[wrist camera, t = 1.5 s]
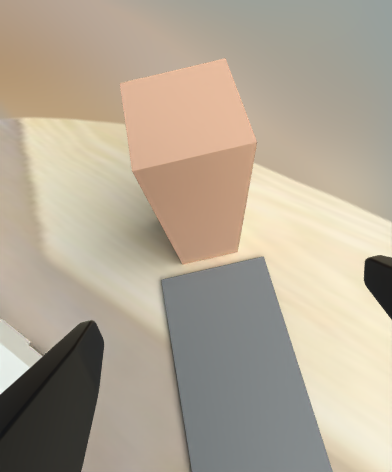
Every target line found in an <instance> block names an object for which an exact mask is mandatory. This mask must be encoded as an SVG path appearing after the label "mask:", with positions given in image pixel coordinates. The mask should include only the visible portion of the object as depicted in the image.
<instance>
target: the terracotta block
mask: <svg viewBox="0 0 392 472" xmlns="http://www.w3.org/2000/svg"><path fill="white" fill-rule="evenodd" d="M120 87H121V95H122V101H123V109H124V116H125V123H126V130H127V137H128V145H129V152H130V159H131V166H132V172H133V174H134V175H135V177H136V179H137V181H138V183H139V185H140V187H141V188H142V190H143V192H144V194H145V196H146V198H147V200H148V201H149V203H150V205H151V207H152V209H153V211H154V213H155V214H156V216H157V218H158V220H159V222H160V224H161V226H162V227H163V229H164V231H165V233H166V235H167V237H168V238H169V240H170V242H171V244H172V246H173V248H174V250H175V251H176V253H177V255H178V257H179V259H180V261H181V263H182V264H187V263H191V262H195V261H200V260H204V259H209V258H213V257H217V256H222V255H226V254H230V253H235V252H238V247H239V241H240V236H241V230H242V224H243V219H244V213H245V207H246V202H247V196H248V191H249V185H250V179H251V174H252V168H253V162H254V157H255V151H256V145H257V141H256V138H255V135H254V133H253V130H252V128H251V125H250V122H249V119H248V117H247V114H246V112H245V109H244V106H243V103H242V101H241V98H240V95H239V93H238V90H237V88H236V85H235V82H234V80H233V77H232V74H231V72H230V69H229V67H228V64H227V61H226V58H224V59H220V60H217V61H212V62H208V63H203V64H199V65H195V66H191V67H187V68H182V69H178V70H174V71H170V72H166V73H161V74H157V75H153V76H148V77H144V78H140V79H136V80H132V81H127V82H123V83H120Z"/></svg>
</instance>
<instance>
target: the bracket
mask: <svg viewBox="0 0 392 472" xmlns="http://www.w3.org/2000/svg"><path fill="white" fill-rule="evenodd" d="M29 344H30V341H29V340H28V339H26V338H25V337H24V336H23V335H22V334H20V333H19V332H18V331H17V330H15V329H14V328H13V327H12V326H10V325H9V324H8V323H7V322H5V321H4V320H3V319H0V394H1V393H2V392H3V391H5V390H6V389H7V388H8V387H9V386H10V385H11V384H12V383H14V382H15V381H16V380H17V379H18V378H19V377H20V376H21V375H23V374H24V373H25V372H26V371H27V370H28V369H29V368H30V367H31V366H33V365H34V364H35V363H36V362H37V361H38V360H39V359H40V358H42V357H43V356H42V355H40V354H39V353H38V352H37V351H36V350H34V349H33V348H32V347H31V346H29Z"/></svg>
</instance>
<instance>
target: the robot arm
mask: <svg viewBox="0 0 392 472" xmlns="http://www.w3.org/2000/svg"><path fill="white" fill-rule="evenodd" d="M364 282H365V285H366V287H367V288H368V289H369V291H370V292H371V293H372V295H373V296H374V297H375V299H376V300H377V301H378V302H379V304H380V305H381V306H382V308H383V309H384V310H385V312H386V313H387V314H388V316H389V317H390V318H391V319H392V258H391V257H387V256H382V255H377V256H373V257H369V258H367V259H366V260H365V267H364ZM103 351H104V340H103V337H102V335H101V333H100V331H99V329H98V326H97V324H96V323H95V321H93V320H90V321H86V322H82V323H80V324H79V325H77V326H76V327H75V328H74V329H73V330H72V331H71V332H70V333H68V334H67V335H66V336H65V337H64V338H63V339H62V340H61V341H60V342H58V343H57V344H56V345H55V346H54V347H53V348H52V349H51V350H49V351H48V352H47V353H46V354H45V355H44V356H43V357H42V358H40V359H39V360H38V361H37V362H36V363H35V364H34V365H33V366H31V367H30V368H29V369H28V370H27V371H26V372H25V373H24V374H23V375H21V376H20V377H19V378H18V379H17V380H16V381H15V382H14V383H12V384H11V385H10V386H9V387H8V388H7V389H6V390H5V391H3V392H2V393H1V394H0V472H81V470H82V466H83V461H84V457H85V452H86V448H87V443H88V439H89V434H90V430H91V425H92V421H93V416H94V412H95V407H96V403H97V398H98V393H99V386H100V377H101V369H102V360H103Z"/></svg>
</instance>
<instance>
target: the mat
mask: <svg viewBox="0 0 392 472" xmlns="http://www.w3.org/2000/svg"><path fill="white" fill-rule="evenodd" d="M161 281H162V287H163V293H164V300H165V306H166V312H167V318H168V324H169V331H170V337H171V343H172V349H173V356H174V362H175V368H176V374H177V381H178V387H179V393H180V399H181V406H182V412H183V418H184V424H185V431H186V437H187V443H188V449H189V456H190V462H191V468H192V472H333V471H332V468H331V465H330V462H329V459H328V456H327V452H326V449H325V446H324V443H323V440H322V437H321V434H320V431H319V428H318V424H317V421H316V418H315V415H314V412H313V409H312V406H311V403H310V399H309V396H308V393H307V390H306V387H305V384H304V381H303V378H302V375H301V371H300V368H299V365H298V362H297V359H296V356H295V353H294V350H293V347H292V343H291V340H290V337H289V334H288V331H287V328H286V325H285V322H284V318H283V315H282V312H281V309H280V306H279V303H278V300H277V297H276V294H275V290H274V287H273V284H272V281H271V278H270V275H269V272H268V269H267V266H266V262H265V259H264V256H263V257H259V258H254V259H250V260H246V261H241V262H237V263H233V264H228V265H224V266H219V267H215V268H211V269H206V270H202V271H198V272H193V273H189V274H184V275H180V276H176V277H171V278H167V279H163V280H161Z"/></svg>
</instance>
